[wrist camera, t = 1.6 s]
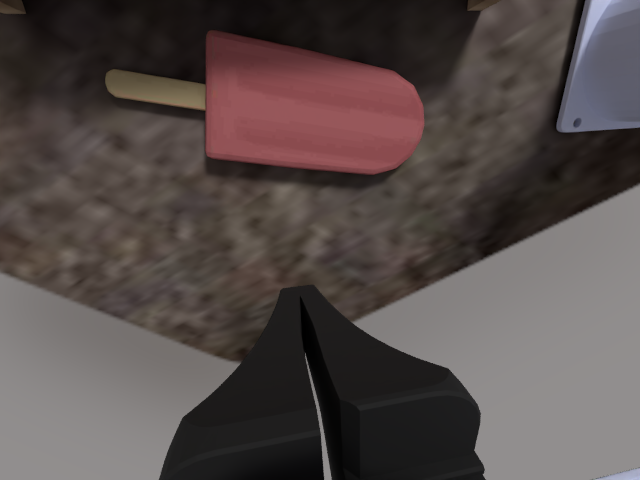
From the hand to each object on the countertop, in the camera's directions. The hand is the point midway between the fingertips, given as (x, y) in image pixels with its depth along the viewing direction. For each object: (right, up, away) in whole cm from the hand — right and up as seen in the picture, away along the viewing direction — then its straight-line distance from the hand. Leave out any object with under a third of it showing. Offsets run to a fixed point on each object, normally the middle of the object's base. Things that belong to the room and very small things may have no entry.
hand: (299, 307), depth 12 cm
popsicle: (-1, +9, +4) cm, 10 cm away
